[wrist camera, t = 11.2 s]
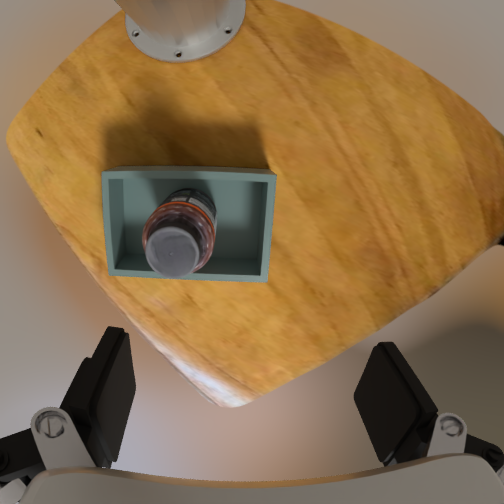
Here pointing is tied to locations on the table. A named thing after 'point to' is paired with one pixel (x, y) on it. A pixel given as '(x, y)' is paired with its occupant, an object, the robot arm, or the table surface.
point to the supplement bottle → (180, 233)
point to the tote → (228, 217)
